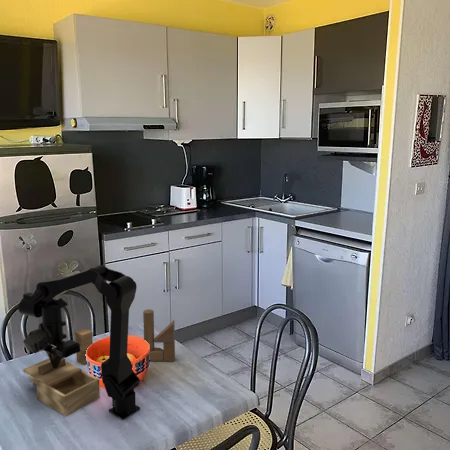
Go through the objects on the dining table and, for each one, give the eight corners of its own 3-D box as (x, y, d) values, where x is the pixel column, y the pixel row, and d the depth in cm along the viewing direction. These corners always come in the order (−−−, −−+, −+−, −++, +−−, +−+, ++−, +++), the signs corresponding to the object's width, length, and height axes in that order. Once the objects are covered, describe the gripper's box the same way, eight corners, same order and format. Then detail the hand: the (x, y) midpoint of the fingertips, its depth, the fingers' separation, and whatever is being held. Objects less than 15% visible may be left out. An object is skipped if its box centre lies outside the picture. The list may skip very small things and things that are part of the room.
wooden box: (100, 397, 140) (99, 379, 139) (65, 416, 131) (64, 397, 130) (50, 370, 155) (49, 353, 154) (16, 385, 146) (15, 368, 145)
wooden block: (173, 362, 162) (173, 313, 158) (142, 361, 162) (141, 312, 159) (175, 356, 166) (174, 309, 162) (144, 356, 166) (143, 308, 162)
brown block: (93, 360, 162) (92, 331, 160) (83, 365, 159) (82, 335, 157) (86, 357, 165) (84, 328, 162) (76, 361, 161) (75, 332, 159)
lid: (81, 371, 143) (81, 363, 143) (49, 386, 135) (49, 377, 134) (55, 357, 151) (54, 349, 151) (23, 371, 143) (22, 363, 142)
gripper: (9, 320, 138) (13, 368, 141) (45, 337, 127) (49, 389, 130) (43, 309, 146) (47, 354, 149) (80, 324, 135) (82, 373, 138)
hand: (55, 367), depth 142 cm, fingers closed
